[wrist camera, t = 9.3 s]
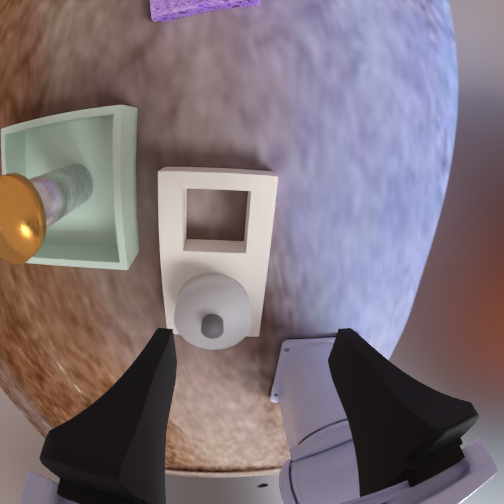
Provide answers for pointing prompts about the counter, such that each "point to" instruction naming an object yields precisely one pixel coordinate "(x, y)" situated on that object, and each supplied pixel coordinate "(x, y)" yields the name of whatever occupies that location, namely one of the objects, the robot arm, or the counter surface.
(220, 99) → the counter surface
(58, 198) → the pin
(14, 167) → the tray
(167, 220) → the block
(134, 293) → the counter surface
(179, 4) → the sponges
